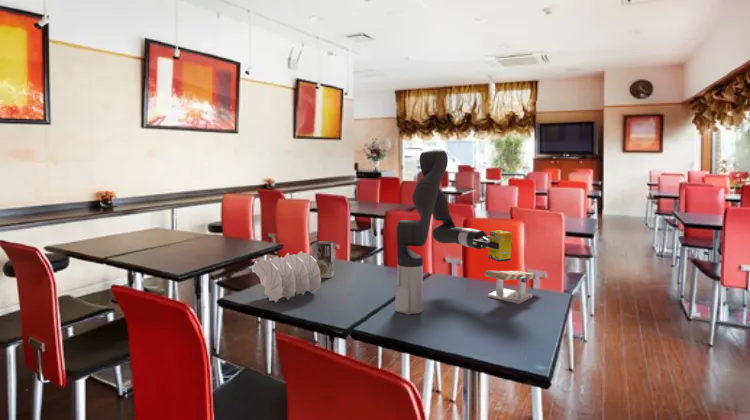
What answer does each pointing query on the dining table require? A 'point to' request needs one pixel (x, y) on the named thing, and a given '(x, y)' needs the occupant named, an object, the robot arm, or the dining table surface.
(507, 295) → the beam stand
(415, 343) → the dining table surface
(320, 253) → the coffee box
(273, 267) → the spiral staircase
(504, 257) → the supplement box
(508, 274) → the beam
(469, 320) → the dining table surface
